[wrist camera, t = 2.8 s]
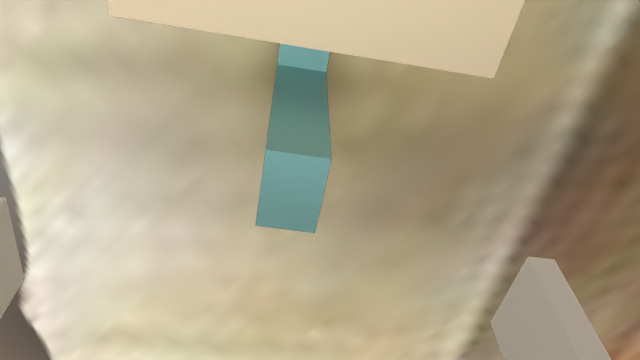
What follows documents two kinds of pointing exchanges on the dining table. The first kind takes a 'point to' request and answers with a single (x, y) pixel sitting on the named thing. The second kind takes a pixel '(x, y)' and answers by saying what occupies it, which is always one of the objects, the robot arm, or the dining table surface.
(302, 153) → the mailer tray
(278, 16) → the sleeve
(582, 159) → the dining table surface
